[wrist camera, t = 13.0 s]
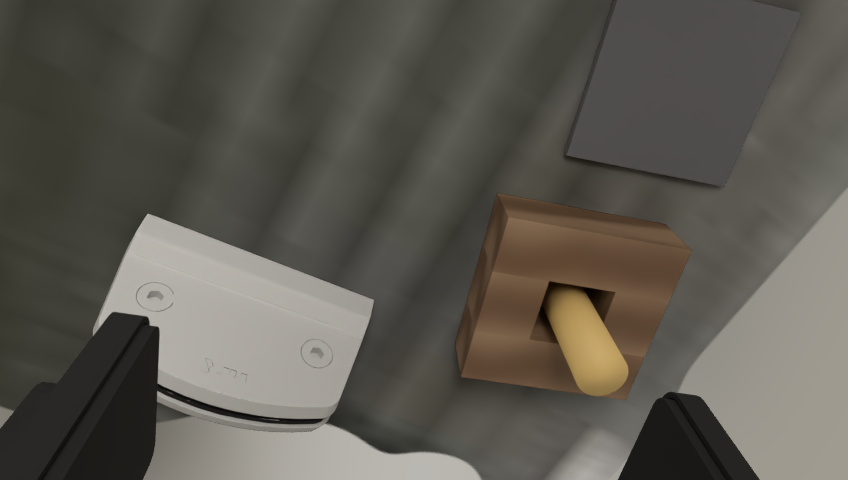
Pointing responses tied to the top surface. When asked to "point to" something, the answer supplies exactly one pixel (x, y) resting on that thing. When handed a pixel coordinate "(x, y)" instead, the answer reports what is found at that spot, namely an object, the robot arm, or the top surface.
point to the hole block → (570, 264)
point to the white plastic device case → (239, 330)
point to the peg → (584, 340)
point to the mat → (679, 85)
